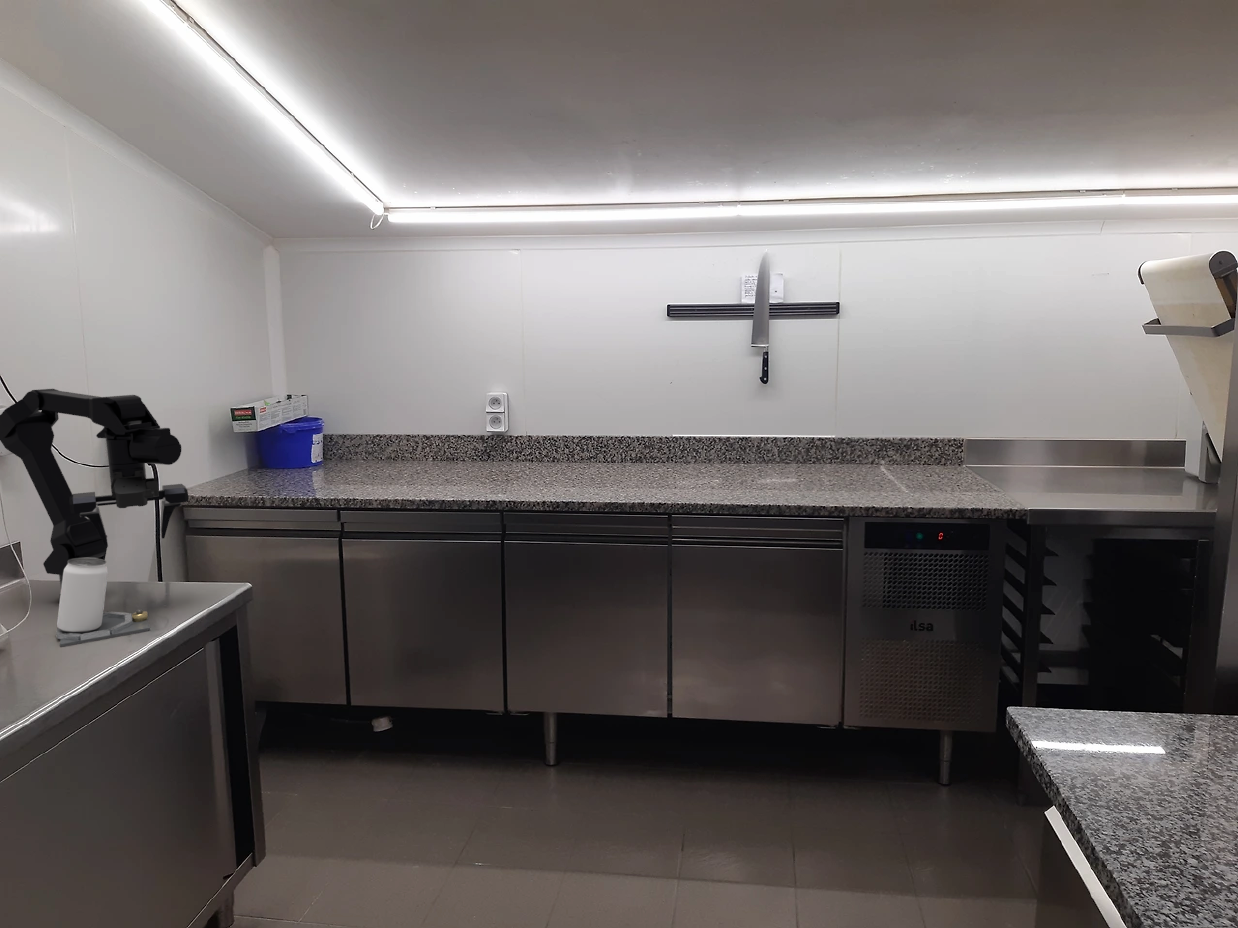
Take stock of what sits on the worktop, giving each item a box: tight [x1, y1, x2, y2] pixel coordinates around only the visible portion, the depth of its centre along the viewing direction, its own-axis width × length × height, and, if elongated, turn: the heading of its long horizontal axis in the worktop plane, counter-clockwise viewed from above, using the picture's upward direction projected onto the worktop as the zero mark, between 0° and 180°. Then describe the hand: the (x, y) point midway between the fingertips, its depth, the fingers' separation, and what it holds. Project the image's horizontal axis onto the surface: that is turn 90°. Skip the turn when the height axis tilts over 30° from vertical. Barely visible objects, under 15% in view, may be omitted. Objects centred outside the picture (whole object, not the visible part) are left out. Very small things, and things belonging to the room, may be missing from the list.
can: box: [56, 558, 109, 633], centre depth 132 cm, size 6×6×12 cm
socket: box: [55, 610, 132, 641], centre depth 133 cm, size 11×11×1 cm
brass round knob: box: [132, 608, 149, 622], centre depth 137 cm, size 2×2×2 cm
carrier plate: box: [59, 612, 151, 648], centre depth 134 cm, size 10×13×1 cm
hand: (135, 541), depth 143 cm, fingers open, 9 cm apart
